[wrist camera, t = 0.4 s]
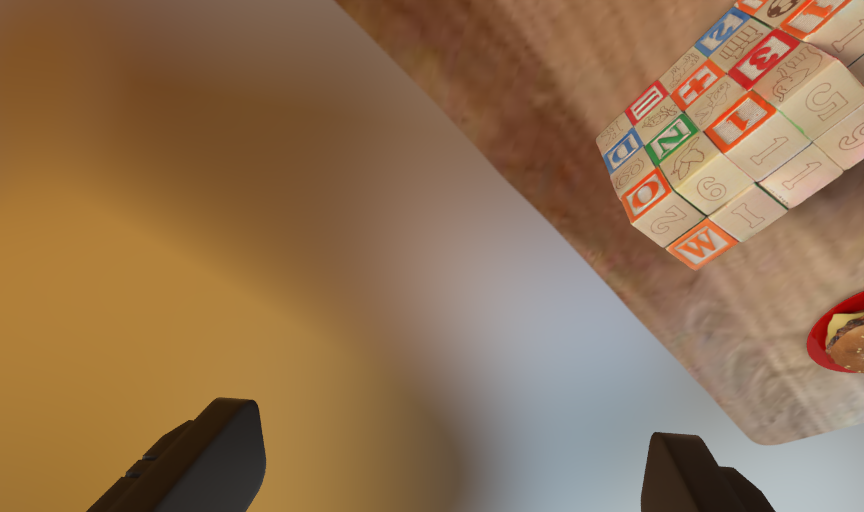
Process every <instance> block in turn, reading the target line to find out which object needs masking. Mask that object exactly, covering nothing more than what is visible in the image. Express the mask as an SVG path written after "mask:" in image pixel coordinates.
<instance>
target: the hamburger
mask: <svg viewBox="0 0 864 512" xmlns="http://www.w3.org/2000/svg"><path fill="white" fill-rule="evenodd" d="M807 350H808V353H809V355H810V357H811V358H812V359H813V360H814V361H815V362H816V363H817V364H819V365H821V366H823V367H825V368H827V369H830V370H834V371H839V372H848V373H864V291H863V292H861V293H859V294H856V295H854V296H852V297H850V298H848V299H847V300H845V301H843V302H841V303H840V304H838V305H837V306H835V307H834V308H832V309H831V310H830V311H828V312H827V313H826V314H825V315H824V316H823V317H822V318H821V319H820V320H819V321H818V322H817V323H816V324H815V325H814V327H813V328H812V330H811V332H810V334H809V336H808V340H807Z"/></svg>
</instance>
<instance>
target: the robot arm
mask: <svg viewBox="0 0 864 512" xmlns="http://www.w3.org/2000/svg"><path fill="white" fill-rule="evenodd" d="M265 469H266V455H265V448H264V441H263V435H262V428H261V421H260V415H259V408H258V405H257V403H256V402H255V401H254V400H248V399H234V398H216V399H215V400H214V401H212V402H211V403H210V404H209V405H208V406H207V408H205V410H203V412H202V413H201V414H200V415H199V416H198V417H197V418H196V419H195V420H194V421H193V420H188V421H187V422H185V423H183V424H182V425H180V426H178V427H177V428H175V429H174V430H172V431H170V432H169V433H167V434H165V435H164V436H162V437H161V438H160V439H159V440H158V441H157V442H156V443H155V444H154V445H153V446H152V447H151V448H150V449H149V450H148V451H147V452H146V453H145V454H144V455H143V458H142V460H138V461H137V462H136V463H135V464H134V465H133V466H132V467H131V468H130V469H129V470H128V471H127V472H126V475H125V477H121V478H120V479H119V480H118V481H117V482H116V483H115V484H114V485H113V486H112V487H111V488H110V489H109V490H108V491H107V492H106V493H105V494H104V495H103V496H102V497H101V498H99V500H97V501H96V502H95V504H93V505H92V506H91V507H90V508H89V509H88V510H87V511H86V512H246V510H247V509H248V507H249V506H250V504H251V502H252V501H253V499H254V498H255V496H256V494H257V493H258V491H259V489H260V487H261V485H262V482H263V478H264V475H265ZM641 512H775V510H774V509H773V507H772V506H771V505H770V503H769V502H768V500H767V499H766V497H765V496H764V494H763V493H762V492H761V491H760V490H759V489H758V488H757V487H756V486H754V485H753V484H752V483H751V482H750V481H749V480H747V479H746V478H745V477H744V476H743V475H741V474H740V473H739V472H738V471H737V470H736V469H734V468H732V467H720V466H718V464H717V462H716V461H715V460H714V457H713V456H712V454H711V453H710V451H709V449H708V448H707V446H706V445H705V443H704V441H703V440H702V439H701V438H700V437H699V436H697V435H686V434H673V433H660V432H655V433H653V435H652V436H651V440H650V445H649V451H648V457H647V463H646V469H645V475H644V481H643V487H642V494H641Z"/></svg>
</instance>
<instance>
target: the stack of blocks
mask: <svg viewBox="0 0 864 512" xmlns="http://www.w3.org/2000/svg"><path fill="white" fill-rule="evenodd" d="M596 143H597V145H598V147H599V150H600V153H601V155H602V156H603V158H604V161H605V164H606V166H607V169H608V171H609V174H610V176H611V177H610V179H611V181H612V184H613V186H614V189H615V191H616V194H617V196H618V198H619V200H621V201H622V203H623V205H624V208H625V210H626V212H627V215H628V217H629V220H630V222H631V224H632V225H633V226H634V227H636V228H637V229H639V230H640V231H641V232H643V233H644V234H645V235H647V236H648V237H649V238H651V239H652V240H653V241H654V242H656V243H657V244H658V245H660V246H661V247H665V248H666V250H667V251H669V252H670V253H671V254H672V255H674V256H675V257H677V258H678V259H679V260H681V261H682V262H683V263H685V264H686V265H688V266H689V267H691V268H692V269H694V270H696V271H697V270H699V269H700V268H702V267H703V266H705V265H706V264H708V263H709V262H711V261H712V260H713V259H715V258H716V257H718V256H719V255H721V254H723V253H724V252H726V251H727V250H728V249H730V248H731V247H733V246H735V245H736V244H737V243H738V242H744V241H746V240H747V239H749V238H750V237H752V236H753V235H755V234H756V233H758V232H759V231H761V230H762V229H764V228H765V227H767V226H768V225H769V224H771V223H772V222H774V221H775V220H777V219H778V218H780V217H781V216H782V215H784V214H785V213H786V212H788V208H793V207H796V206H797V205H798V204H800V203H801V202H803V201H804V200H806V199H807V198H809V197H810V196H811V195H813V194H814V193H816V192H818V191H819V190H820V189H822V188H823V187H824V186H826V185H827V184H829V183H830V182H832V181H833V180H835V179H836V178H838V177H839V176H840V175H841V174H842V173H843V171H844V170H847V169H849V168H851V167H852V166H854V165H855V164H857V163H858V162H860V161H861V160H863V159H864V0H738V1H737V2H736V3H735V4H734V6H733V7H732V8H731V9H730V10H729V11H728V12H727V13H726V14H725V15H724V16H723V17H722V18H721V19H720V20H719V21H718V22H717V23H716V24H715V25H713V26H712V27H711V28H710V29H709V30H708V31H707V32H706V33H705V34H704V35H703V36H702V37H701V38H700V39H699V40H698V41H697V42H696V43H695V45H694V46H693V47H692V48H690V49H689V50H688V51H687V52H686V53H685V54H684V55H683V56H682V57H681V58H680V59H679V60H678V61H677V62H676V63H675V64H674V65H673V66H672V67H671V68H670V69H669V70H668V71H667V72H666V73H665V74H664V75H663V76H662V77H661V78H660V79H659V80H657V81H655V82H654V83H653V84H652V85H651V86H650V87H649V88H648V89H647V90H646V91H645V92H644V93H643V94H642V95H641V96H640V97H638V98H637V99H636V100H635V101H634V102H633V103H632V104H631V105H630V106H629V107H628V108H627V109H626V110H625V112H623V113H622V114H621V115H620V116H619V117H617V118H616V119H615V120H614V121H613V122H612V123H611V124H610V125H609V126H608V127H607V128H606V129H605V130H604V131H603V132H602V133H601V134H600V135H599V136H598V137H597V138H596Z"/></svg>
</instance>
